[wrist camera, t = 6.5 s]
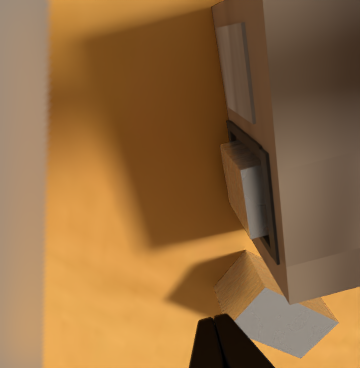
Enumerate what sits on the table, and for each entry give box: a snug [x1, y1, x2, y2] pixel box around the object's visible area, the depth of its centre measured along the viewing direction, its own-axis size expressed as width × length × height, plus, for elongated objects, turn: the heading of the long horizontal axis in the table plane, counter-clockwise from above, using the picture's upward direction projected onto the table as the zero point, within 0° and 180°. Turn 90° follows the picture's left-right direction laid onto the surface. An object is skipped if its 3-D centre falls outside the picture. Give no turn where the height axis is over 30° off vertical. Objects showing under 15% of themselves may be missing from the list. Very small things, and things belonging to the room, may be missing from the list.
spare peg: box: [214, 250, 339, 358], centre depth 23 cm, size 7×4×4 cm, turn 56°
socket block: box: [212, 0, 360, 305], centre depth 16 cm, size 10×14×7 cm
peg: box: [220, 140, 269, 239], centre depth 17 cm, size 7×4×4 cm, turn 102°
